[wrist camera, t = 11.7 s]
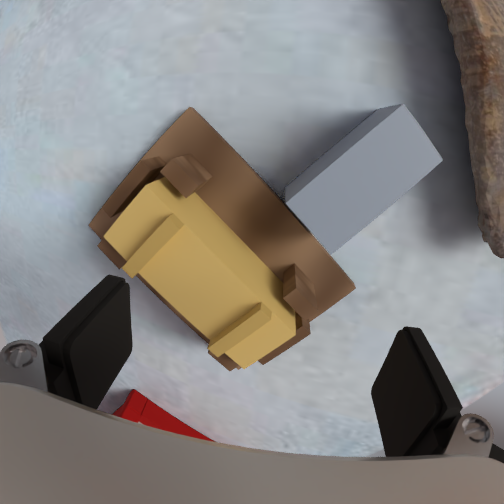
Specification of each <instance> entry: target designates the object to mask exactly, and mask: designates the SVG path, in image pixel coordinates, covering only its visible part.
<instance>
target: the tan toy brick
mask: <svg viewBox="0 0 504 504" xmlns="http://www.w3.org/2000/svg"><path fill="white" fill-rule="evenodd" d="M103 237H104V238H105V239H106V240H107V241H108V242H109V243H110V244H111V245H112V246H113V247H114V248H115V249H116V251H117V252H118V253H119V254H120V255H121V256H122V257H123V258H124V259H125V260H126V261H127V263H126V264H125V265H124V266H123V267H122V269H123V270H124V271H125V272H126V273H127V274H128V275H129V276H130V277H131V278H133V277H134V276H135V275H136V274H137V273H139V274H140V275H141V276H142V277H143V278H144V279H145V280H146V281H147V282H148V283H149V284H150V285H151V286H152V287H153V288H154V289H155V290H156V291H157V292H158V293H159V294H160V295H161V296H162V297H164V298H165V299H166V300H167V301H168V302H169V303H170V304H171V305H172V306H173V307H174V308H175V309H176V310H177V311H178V312H179V313H181V314H182V315H183V316H184V317H185V318H186V319H187V320H188V321H189V322H190V323H191V324H192V325H194V326H195V327H196V328H197V329H198V330H199V331H200V332H201V333H202V334H204V335H205V336H206V337H207V338H208V339H209V340H210V342H209V345H208V348H207V349H208V350H210V351H211V352H212V353H213V354H214V355H215V356H217V357H219V356H220V355H222V354H223V353H225V354H226V355H228V356H229V357H230V358H231V359H232V360H233V361H235V362H236V363H237V364H238V365H239V366H241V367H242V368H243V369H245V368H247V367H248V366H250V365H251V364H253V363H255V362H256V361H258V360H259V359H261V358H262V357H264V356H265V355H267V354H268V353H270V352H271V351H273V350H274V349H276V348H277V347H279V346H280V345H282V344H283V343H285V342H286V341H288V340H289V339H291V338H292V337H294V336H295V335H296V325H295V310H294V309H293V308H292V307H291V306H290V305H289V304H288V303H287V302H286V301H285V300H284V299H283V282H282V281H281V280H280V279H279V278H278V277H277V276H276V275H275V274H274V273H273V272H272V271H271V270H270V269H269V268H268V267H267V266H266V265H265V264H264V263H263V262H262V261H261V260H260V259H259V258H258V257H257V255H256V254H255V253H254V252H253V251H252V250H251V249H250V248H249V247H248V246H247V245H246V244H245V243H244V242H243V241H242V240H241V239H240V238H239V237H238V236H237V235H236V234H235V233H234V232H233V231H232V230H231V229H230V228H229V227H228V226H227V225H226V224H225V222H224V221H223V220H222V219H221V218H220V217H219V216H218V215H217V214H216V213H215V212H214V211H213V210H212V209H211V208H210V207H209V206H208V205H207V204H206V203H205V202H204V201H203V200H202V199H201V198H200V197H199V196H198V195H197V194H196V193H195V192H194V193H193V194H191V195H190V196H188V197H187V198H185V197H184V196H183V195H182V194H181V193H180V192H179V191H178V190H177V189H176V188H175V187H174V186H173V185H172V184H171V182H170V181H169V180H168V179H167V178H166V177H163V178H161V179H159V180H156V181H154V182H152V183H149V184H147V185H145V187H144V188H143V189H142V190H141V191H140V192H139V193H138V195H137V196H136V197H135V198H134V199H133V201H132V202H131V203H130V204H129V205H128V207H127V208H126V209H125V210H124V211H123V213H122V214H121V215H120V216H119V217H118V219H117V220H116V221H115V222H114V224H113V225H112V226H111V227H110V229H109V230H108V231H107V232H106V234H105V235H104V236H103Z"/></svg>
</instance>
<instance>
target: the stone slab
mask: <svg viewBox="0 0 504 504" xmlns="http://www.w3.org/2000/svg"><path fill="white" fill-rule="evenodd" d="M441 4H442V7H443V9H444V10H445V13H446V16H447V20H448V27H449V31H450V32H451V34H452V36H453V39H454V48H455V54H456V56H457V58H458V61H459V63H460V70H461V73H462V75H461V80H460V81H461V85H462V89H463V93H464V102H465V107H466V110H465V126H466V129H467V132H468V139H469V150H470V157H471V166H472V171H473V177H474V184H475V192H476V203H477V206H478V209H479V215H478V226H479V228H480V229H481V231H482V237H483V241H484V242H488V244H489V246H490V248H491V250H492V252H493V254H495V255H496V256H498V257H500V258H504V0H441Z"/></svg>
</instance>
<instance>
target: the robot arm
mask: <svg viewBox="0 0 504 504" xmlns="http://www.w3.org/2000/svg"><path fill="white" fill-rule="evenodd" d="M131 351H132V331H131V313H130V287H129V284H128V283H126V282H125V279H124V278H121V277H117V276H113V275H107V276H106V277H105V278H104V279H103V280H102V281H101V282H100V283H99V284H98V285H96V286H95V287H94V288H93V289H92V290H91V291H90V292H89V293H88V294H87V295H86V296H85V297H84V298H83V299H82V300H81V301H80V302H79V303H77V304H76V305H75V306H74V307H73V308H72V309H71V310H70V311H69V312H68V313H67V314H66V315H65V316H64V317H63V318H62V319H61V320H60V321H59V322H58V323H57V324H56V325H55V326H54V327H53V328H52V329H51V330H50V331H49V332H48V333H47V334H46V335H45V336H44V337H43V341H42V342H41V343H40V344H39V345H38V344H37V343H35V342H33V341H30V340H17V341H13V342H11V343H9V344H7V345H6V346H5V347H4V348H3V349H2V350H1V352H0V504H504V450H503V449H501V448H499V447H498V446H496V445H494V444H493V439H494V432H493V429H492V427H491V425H490V424H489V422H487V420H486V419H484V418H482V417H481V416H479V415H476V414H465V415H463V416H461V414H460V411H461V409H462V408H463V407H462V405H461V403H460V401H459V399H458V397H457V395H456V393H455V391H454V389H453V387H452V385H451V383H450V381H449V379H448V377H447V375H446V373H445V371H444V370H443V368H442V366H441V364H440V362H439V360H438V358H437V357H436V355H435V353H434V351H433V349H432V348H431V346H430V344H429V342H428V340H427V339H426V337H425V335H424V333H423V332H422V330H421V329H420V328H415V327H404V328H403V329H402V330H399V331H398V333H397V335H396V337H395V339H394V341H393V344H392V346H391V348H390V350H389V353H388V355H387V357H386V359H385V361H384V363H383V366H382V368H381V370H380V372H379V374H378V376H377V378H376V380H375V382H374V384H373V386H372V390H371V395H372V399H373V403H374V407H375V412H376V416H377V420H378V424H379V428H380V433H381V437H382V441H383V446H384V450H385V455H386V457H339V456H320V455H306V454H294V453H284V452H275V451H267V450H260V449H253V448H246V447H240V446H234V445H228V444H223V443H218V442H212V441H207V440H203V439H198V438H193V437H189V436H185V435H180V434H176V433H172V432H168V431H164V430H161V429H157V428H153V427H150V426H146V425H143V424H139V423H136V422H133V421H130V420H126V419H123V418H120V417H117V416H114V415H111V414H108V413H105V412H102V411H99V410H97V408H98V406H99V405H100V403H101V401H102V400H103V398H104V396H105V395H106V393H107V391H108V390H109V388H110V386H111V385H112V383H113V382H114V380H115V378H116V377H117V375H118V373H119V372H120V370H121V369H122V367H123V365H124V364H125V362H126V361H127V359H128V357H129V356H130V354H131Z"/></svg>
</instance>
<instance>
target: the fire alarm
mask: <svg viewBox="0 0 504 504" xmlns="http://www.w3.org/2000/svg"><path fill="white" fill-rule="evenodd" d="M112 415H114V416H117V417H120V418H123V419H126V420H130V421H133V422H136V423H139V424H143V425H146V426H150V427H153V428H157V429H161V430H164V431H168V432H172V433H176V434H180V435H185V436H189V437H193V438H198V439H203V440H207V441H212V442H215V441H213V440H211V439H209V438H208V437H206V436H204V435H203V434H201V433H199V432H198V431H196V430H194V429H193V428H191V427H189V426H188V425H186V424H185V423H183V422H181V421H180V420H178V419H177V418H175V417H174V416H172V415H171V414H169V413H168V412H166V411H165V410H163V409H162V408H160V407H159V406H157V405H156V404H154V403H153V402H152V401H150V400H149V399H147V398H146V397H145V396H143V395H142V394H140V393H139V392H137V391H136V390H135V389H133V390H132V391H131V392H130V393H129V395H128V397H127V399H126V401H125V402H124V404H123V405H122V406H121V407H120V408H119V409H117V410H116V411H115V412H114V413H113V414H112Z"/></svg>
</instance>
